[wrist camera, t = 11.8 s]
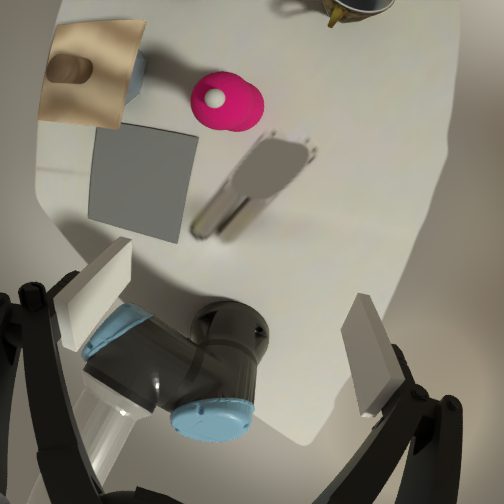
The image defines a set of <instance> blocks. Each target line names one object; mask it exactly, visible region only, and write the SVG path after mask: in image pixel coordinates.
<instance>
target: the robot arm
mask: <svg viewBox="0 0 504 504" xmlns="http://www.w3.org/2000/svg"><path fill="white" fill-rule="evenodd" d="M131 254H132V239H129V238H125V237H119V238H118V239H117V240H116V241H115V242H114V243H112V244H111V245H110V246H109V247H108V248H107V249H105V250H104V251H103V252H102V253H101V254H100V255H99V256H98V257H96V258H95V259H94V260H93V261H92V262H91V263H90V264H89V265H88V266H87V267H86V268H85V269H84V270H82V271H81V272H79V271H76V270H75V271H73V272H70V273H68V274H66V275H65V276H64V277H63V278H62V279H61V281H59V282H58V283H57V284H56V285H54V286H53V287H52V288H51V289H50V290H49V291H48V292H47V293H46V290H45V287H44V285H43V284H41V283H38V282H30V283H26V284H24V285H22V286H21V287H20V288H19V291H18V294H19V299H20V303H21V305H20V304H13V303H11V301H10V298H9V296H8V295H7V294H6V293H0V504H10V502H9V501H8V499H7V498H6V489H7V453H8V433H9V421H10V412H11V403H12V395H13V388H14V383H15V377H16V371H17V366H18V361H19V356H20V352H21V348H23V357H24V370H25V378H26V387H27V393H28V400H29V407H30V412H31V418H32V422H33V428H34V432H35V437H36V441H37V445H38V452H37V461H38V465H39V468H40V475H39V477H38V479H37V481H36V483H35V485H34V488H33V490H32V492H31V494H30V497H29V499H28V502H27V504H183V503H181V502H179V501H177V500H175V499H173V498H171V497H169V496H167V495H164V494H160V493H157V492H154V491H150V490H147V489H144V488H141V487H138V486H137V487H136V491H116V492H111V493H107V494H105V493H104V490H103V488H102V486H103V484H104V482H105V479H106V478H107V476H108V474H109V472H110V470H111V468H112V466H113V464H114V462H115V460H116V458H117V456H118V454H119V452H120V451H121V449H122V447H123V445H124V443H125V441H126V439H127V437H128V435H129V433H130V431H131V430H132V428H133V426H134V424H135V422H136V420H138V419H140V418H144V417H147V416H151V415H152V413H153V411H154V409H155V407H156V406H159V407H161V408H163V409H164V410H166V411H168V412H170V413H171V415H170V421H171V425H172V426H173V428H175V430H176V431H177V432H179V433H180V434H182V435H183V436H186V437H188V438H191V439H195V440H199V441H205V442H223V441H230V440H233V439H236V438H238V437H240V436H242V435H243V434H245V433H246V432H247V431H248V429H249V427H250V424H251V420H252V416H253V412H254V397H255V386H256V375H257V366H258V364H259V363H260V361H261V359H262V357H263V356H264V354H265V352H266V350H267V348H268V344H269V328H268V325H267V323H266V321H265V320H264V318H263V317H262V316H261V315H260V314H259V313H258V312H257V311H255V310H254V309H252V308H251V307H249V306H246V305H244V304H241V303H237V302H231V301H222V302H216V303H212V304H209V305H207V306H205V307H204V308H202V309H201V310H200V311H199V312H198V313H197V315H196V316H195V319H194V321H193V324H192V327H191V340H190V339H188V338H187V337H185V336H183V335H182V334H180V333H179V332H177V331H176V330H174V329H173V328H171V327H169V326H168V325H166V324H165V323H163V322H162V321H160V320H159V319H158V318H156V317H155V315H154V314H152V313H151V314H150V313H149V312H147V311H145V310H144V309H142V308H140V307H139V306H137V305H136V304H133V303H125V304H122V305H121V306H119V307H118V308H117V309H116V310H115V311H114V312H113V313H112V314H111V315H110V316H109V317H108V318H107V319H106V320H105V321H104V323H102V325H101V326H100V327H99V328H98V329H97V330H96V332H95V333H94V335H93V336H92V337H91V338H90V341H89V342H88V343H87V344H86V345H85V347H84V348H83V350H82V352H81V357H82V358H83V360H84V361H85V362H86V361H87V364H86V365H85V367H84V369H83V370H82V376H83V380H84V386H85V387H84V390H83V392H82V394H81V395H80V397H79V399H78V401H77V403H76V405H75V406H74V408H73V410H72V406H71V403H70V399H69V396H68V392H67V387H66V383H65V379H64V375H63V371H62V366H61V361H60V356H59V352H58V346H57V342H58V341H59V339H60V338H61V339H62V344H63V347H66V348H68V349H70V350H73V351H75V352H77V351H78V349H79V348H80V346H81V345H82V344H83V342H84V341H85V339H86V338H87V337H88V335H89V334H90V333H91V331H92V330H93V329H94V327H95V326H96V324H97V323H98V322H99V321H100V319H101V318H102V317H103V315H104V314H105V313H106V311H107V310H108V309H109V307H110V306H111V304H112V303H113V302H114V301H115V300H116V298H117V297H118V296H119V295H120V293H121V292H122V291H123V289H124V288H125V287H126V286H127V284H128V283H129V282H130V281H131ZM341 333H342V337H343V341H344V345H345V349H346V353H347V357H348V361H349V365H350V370H351V374H352V378H353V383H354V387H355V392H356V396H357V401H358V406H359V410H360V415H361V417H375V416H376V415H377V414H378V413H379V412H380V410H381V411H382V414H383V417H382V418H381V419H380V420H379V421H378V422H377V424H376V425H375V426H374V427H373V428H372V431H371V433H370V434H369V436H368V437H367V439H366V440H365V441H364V443H363V444H362V445H361V447H360V448H359V449H358V450H357V452H356V453H355V454H354V456H353V457H352V458H351V459H350V461H349V462H348V463H347V464H346V466H345V467H344V468H343V469H342V471H341V472H340V473H339V474H338V475H337V476H336V478H335V479H334V480H333V481H332V482H331V483H330V484H329V486H328V487H327V488H326V489H325V490H324V491H323V492H322V494H320V495H319V497H318V498H317V499H316V500H315V501H314V502H313V503H312V504H372V503H373V502H374V500H375V499H376V497H377V496H378V494H379V493H380V492H381V490H382V488H383V487H384V485H385V484H386V482H387V481H388V479H389V477H390V476H391V474H392V472H393V471H394V469H395V467H396V466H397V464H398V462H399V460H400V459H401V457H402V455H403V453H404V451H405V450H406V448H407V446H408V444H409V442H410V440H411V442H410V447H409V451H408V456H407V460H406V465H405V469H404V473H403V476H402V480H401V484H400V487H399V491H398V494H397V498H396V501H395V504H456V503H457V496H458V489H459V480H460V470H461V458H462V437H463V436H462V435H463V409H462V404H461V403H460V401H459V400H458V399H457V398H456V397H454V396H452V395H445V396H444V397H443V398H442V399H441V400H440V401H438V400H435V399H432V398H429V394H428V392H427V391H426V390H425V389H424V388H423V387H422V386H420V385H418V384H415V381H414V379H413V376H412V374H411V371H410V369H409V367H408V366H407V362H406V360H405V357H404V355H403V353H402V351H401V350H400V349H399V347H398V346H397V345H396V344H391V343H390V340H389V338H388V336H387V333H386V331H385V329H384V327H383V324H382V322H381V320H380V317H379V315H378V313H377V311H376V308H375V306H374V304H373V302H372V300H371V298H370V295H366V294H361V293H358V294H357V296H356V298H355V301H354V303H353V305H352V307H351V309H350V311H349V313H348V315H347V318H346V320H345V322H344V324H343V326H342V328H341Z"/></svg>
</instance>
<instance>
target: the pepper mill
mask: <svg viewBox="0 0 504 504" xmlns="http://www.w3.org/2000/svg"><path fill="white" fill-rule="evenodd" d="M191 109H192V112H193V114H194V116H195V117H196V119H197V120H198V121H199V122H200V123H201V124H203V125H204V126H206V127H208V128H211V129H214V130H229V131H233V132H240V131H245V130H248V129H250V128H252V127H253V126H255V125H256V124H257V123H258V122H259V120H260V119H261V117H262V115H263V112H264V100H263V97H262V95H261V93H260V91H259V90H258V89H257V88H256V87H255V86H253V85H252V84H250V83H248V82H246V81H245V80H244V79H242V78H241V77H240V76H238V75H236V74H234V73H230V72H223V71H221V72H215V73H211V74H209V75H207V76H205V77H203V78H202V79H201V80H200V81H199V82H198V83H197V84H196V85H195V87H194V89H193V91H192V94H191Z"/></svg>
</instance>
